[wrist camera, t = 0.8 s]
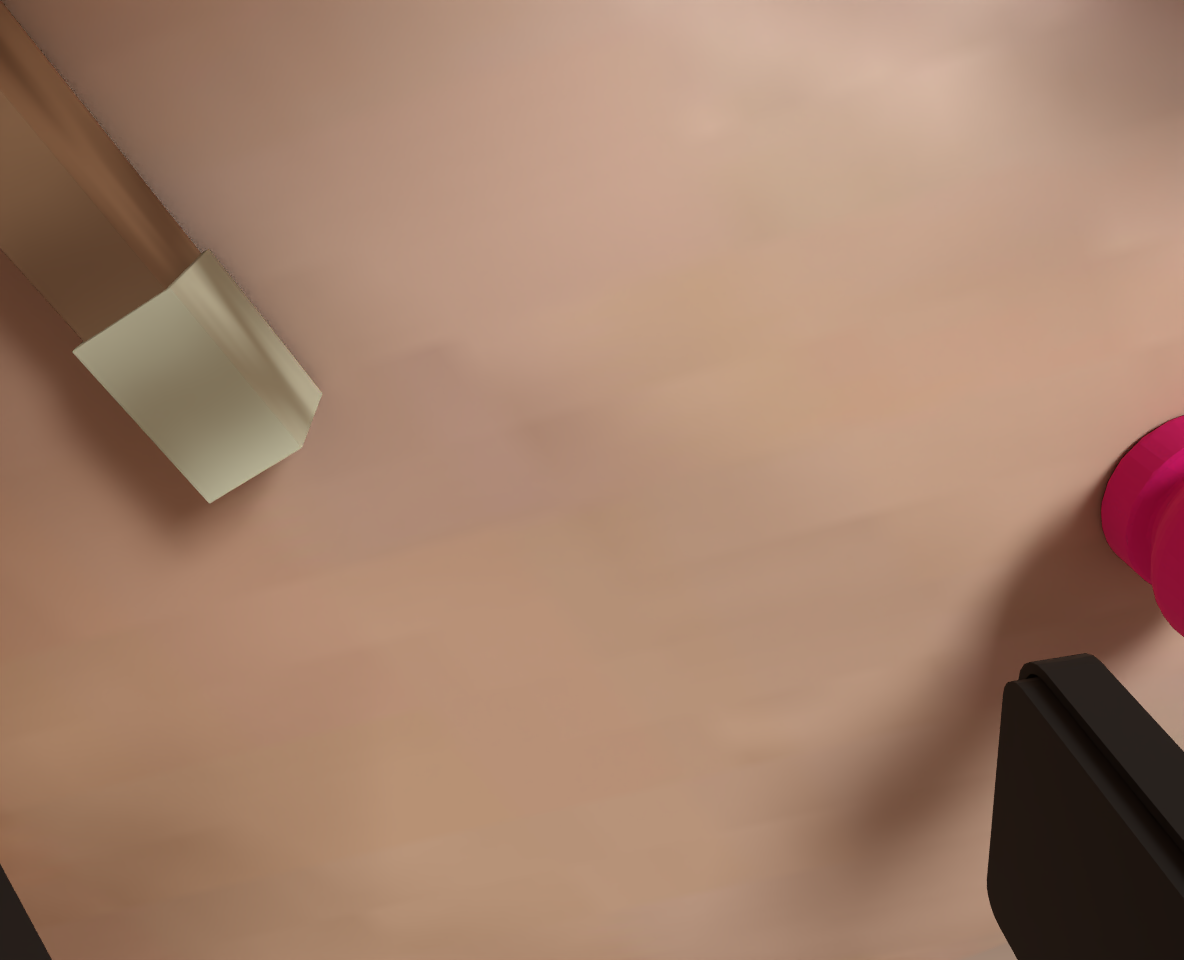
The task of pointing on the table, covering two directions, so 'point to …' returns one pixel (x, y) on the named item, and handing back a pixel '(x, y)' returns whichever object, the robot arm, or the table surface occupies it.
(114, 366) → the tongs arm
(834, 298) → the table surface
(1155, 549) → the pepper mill
